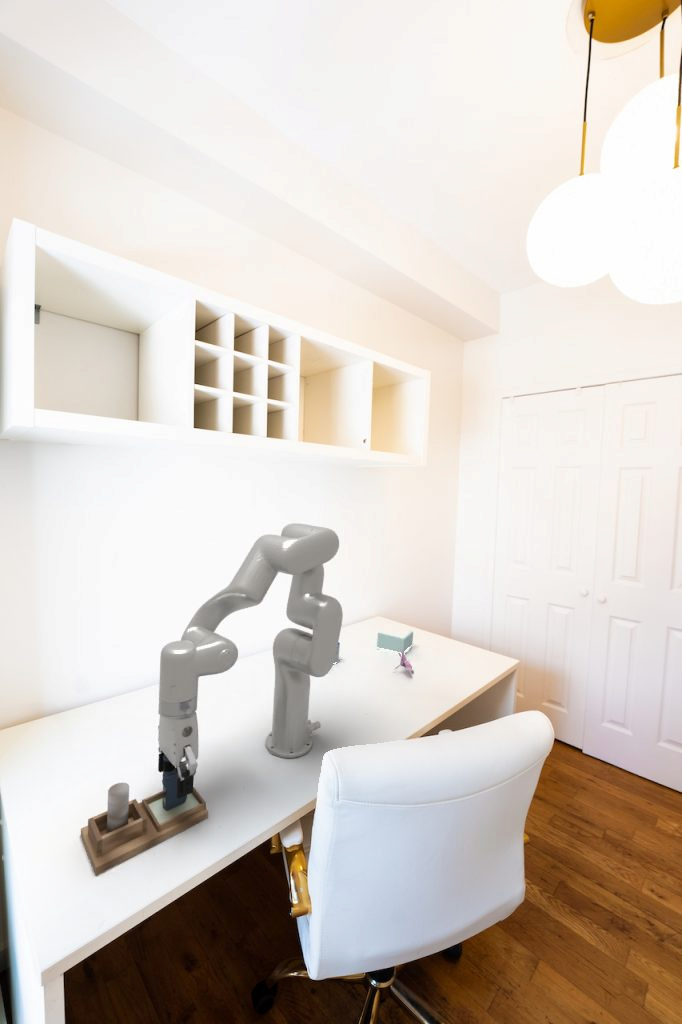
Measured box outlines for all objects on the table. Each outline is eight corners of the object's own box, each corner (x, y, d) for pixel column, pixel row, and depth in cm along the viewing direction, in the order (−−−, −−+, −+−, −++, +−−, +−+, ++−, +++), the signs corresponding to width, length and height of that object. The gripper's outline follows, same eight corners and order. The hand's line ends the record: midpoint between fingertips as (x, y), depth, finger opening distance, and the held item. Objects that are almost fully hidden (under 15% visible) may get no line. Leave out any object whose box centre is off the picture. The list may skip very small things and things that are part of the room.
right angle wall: (412, 648, 194) (413, 631, 193) (402, 656, 183) (404, 639, 183) (387, 641, 199) (388, 625, 199) (376, 649, 189) (377, 633, 188)
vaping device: (159, 805, 91) (161, 750, 90) (184, 794, 94) (186, 741, 94) (163, 812, 89) (165, 756, 88) (189, 801, 92) (191, 747, 92)
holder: (185, 788, 98) (187, 744, 98) (207, 818, 90) (210, 770, 90) (80, 835, 84) (81, 784, 83) (95, 875, 76) (97, 819, 75)
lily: (401, 686, 158) (416, 664, 158) (378, 664, 165) (392, 643, 165) (413, 684, 168) (427, 664, 168) (391, 664, 175) (404, 645, 175)
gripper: (214, 715, 86) (210, 797, 87) (179, 682, 98) (176, 754, 99) (177, 728, 81) (173, 815, 82) (144, 691, 93) (142, 767, 94)
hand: (175, 781), depth 91 cm, fingers open, 9 cm apart
